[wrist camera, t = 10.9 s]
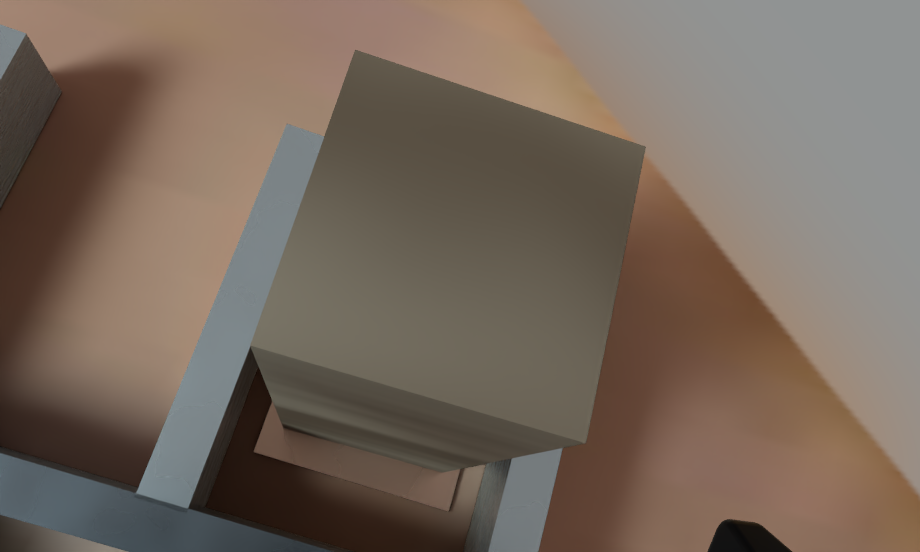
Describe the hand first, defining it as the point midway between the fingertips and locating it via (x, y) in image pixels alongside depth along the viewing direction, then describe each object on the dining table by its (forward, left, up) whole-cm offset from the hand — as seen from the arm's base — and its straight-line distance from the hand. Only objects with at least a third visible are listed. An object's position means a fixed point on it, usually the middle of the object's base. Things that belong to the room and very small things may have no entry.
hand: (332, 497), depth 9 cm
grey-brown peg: (+4, -2, -13) cm, 13 cm away
